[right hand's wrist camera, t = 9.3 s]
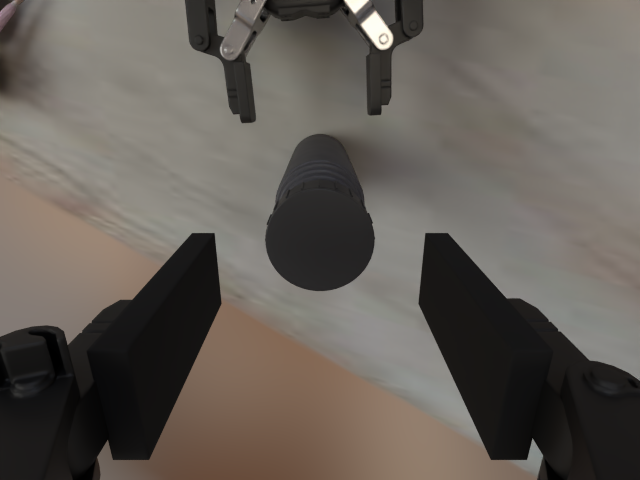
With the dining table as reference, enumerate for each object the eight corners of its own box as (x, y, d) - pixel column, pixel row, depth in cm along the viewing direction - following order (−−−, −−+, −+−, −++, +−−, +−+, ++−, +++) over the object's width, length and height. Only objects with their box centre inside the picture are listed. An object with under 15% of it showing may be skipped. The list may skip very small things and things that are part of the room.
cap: (295, 160, 17) (292, 168, 15) (388, 206, 18) (396, 218, 16) (253, 250, 18) (247, 265, 17) (341, 288, 19) (343, 307, 17)
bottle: (306, 123, 33) (291, 161, 16) (358, 149, 34) (399, 213, 16) (282, 175, 35) (244, 263, 17) (332, 199, 36) (344, 307, 18)
